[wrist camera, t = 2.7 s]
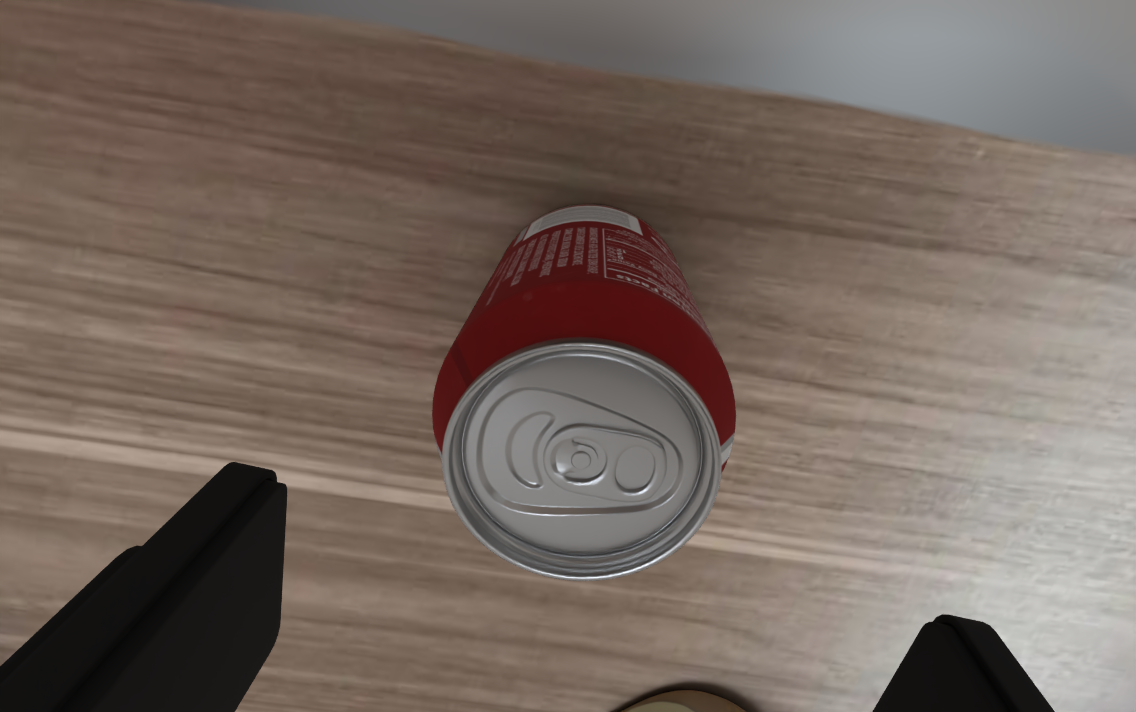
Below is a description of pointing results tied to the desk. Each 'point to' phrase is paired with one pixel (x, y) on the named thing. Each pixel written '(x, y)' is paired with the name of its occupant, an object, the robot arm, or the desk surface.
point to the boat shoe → (685, 703)
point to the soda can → (584, 402)
